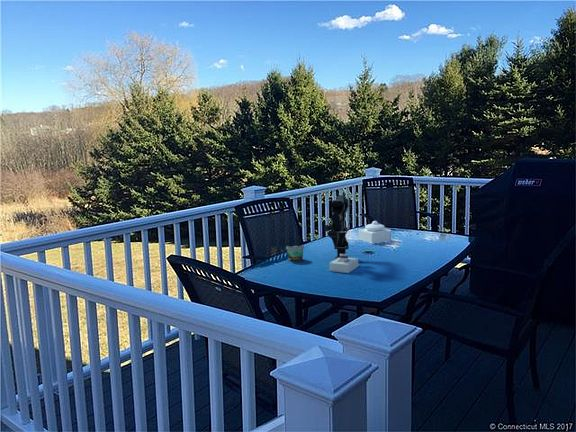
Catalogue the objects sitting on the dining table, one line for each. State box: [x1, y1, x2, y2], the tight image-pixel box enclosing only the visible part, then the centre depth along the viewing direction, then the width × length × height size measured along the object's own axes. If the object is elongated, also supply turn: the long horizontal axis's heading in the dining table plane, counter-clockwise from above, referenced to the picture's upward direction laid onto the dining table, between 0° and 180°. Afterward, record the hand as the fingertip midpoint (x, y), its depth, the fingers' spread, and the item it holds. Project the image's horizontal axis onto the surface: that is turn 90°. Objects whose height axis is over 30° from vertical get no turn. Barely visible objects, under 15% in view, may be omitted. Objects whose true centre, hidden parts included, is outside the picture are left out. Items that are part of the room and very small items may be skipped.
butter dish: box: [358, 220, 392, 244], centre depth 358 cm, size 18×18×16 cm
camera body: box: [328, 257, 359, 274], centre depth 284 cm, size 16×12×6 cm
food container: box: [285, 244, 305, 263], centre depth 307 cm, size 12×6×10 cm, turn 105°
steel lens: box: [340, 252, 349, 262], centre depth 284 cm, size 5×5×7 cm
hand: (338, 244), depth 295 cm, fingers open, 9 cm apart
